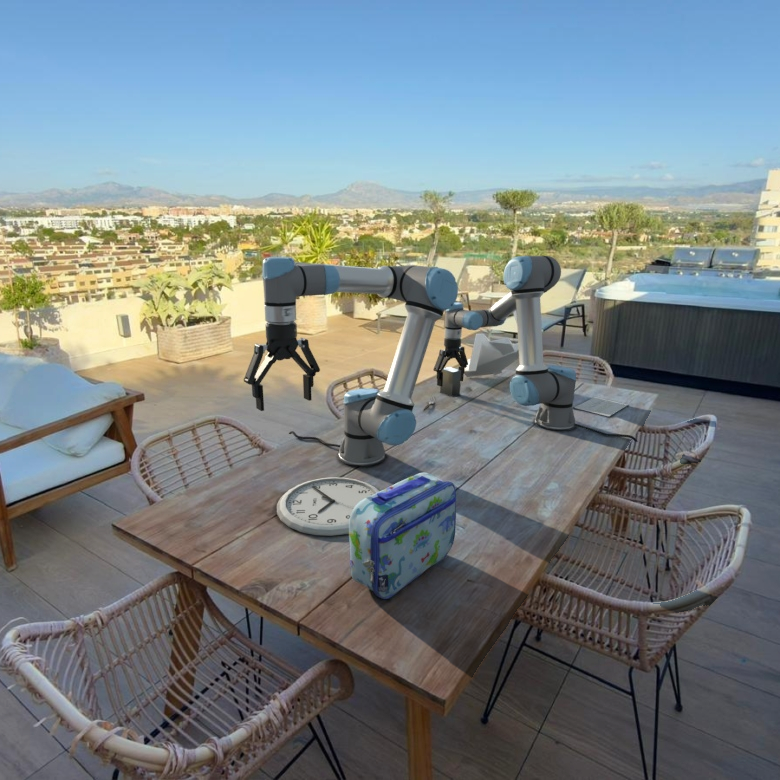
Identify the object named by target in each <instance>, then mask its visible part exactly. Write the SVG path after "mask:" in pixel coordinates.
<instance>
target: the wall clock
mask: <svg viewBox="0 0 780 780" xmlns="http://www.w3.org/2000/svg"><path fill="white" fill-rule="evenodd" d="M380 491H381V490H380V489H379V488H377V487H376V486H374V485H372V484H371V483H369V482H365V481H362V480H359V479H355V478H349V477H338V476H337V477H335V476H333V477H332V476H331V477H322V478H317V479H312V480H307V481H305V482H302V483H299V484H297V485H295V486H293V487H292V488H290V489H288V490H287V491H286V492H285V493H284V494H283V495H281V496H280V498H279V499H278V502H277V503H276V515H277V517H278V518H279V520H280V521H281V522H282V523H283V524H285V525H286V526H287V527H288V528H290V529H293V530H295V531H297V532H299V533H303V534H308V535H312V536H327V537H328V536H329V537H331V536H332V537H333V536H342V535H349V520H350V515H351V513H352V511H353V509H354V507H355V506H356V505H357V504H358V503H359V502H360V501H362V500H363V499H365V498H367V497H370V496H372V495H374V494H376V493H378V492H380Z"/></svg>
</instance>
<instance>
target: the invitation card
mask: <svg viewBox="0 0 780 780" xmlns="http://www.w3.org/2000/svg"><path fill="white" fill-rule="evenodd" d="M628 406H629V404H627V403H623V402H618V401H614V400H609V399H605V398H601V397H596V396H593V397H592V398H590V399H588V400H586V401H584V402H582V403H580V404H578V405H575V406H574V407H573V409H575V410H581V411H584V412H587V413H593V414H596V415H600V416H604V417H608V418H609V417H611V416H613V415H614V414H616V413H617V412H619V411H621V410H623V409H624V408H626V407H628Z"/></svg>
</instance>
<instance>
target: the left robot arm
mask: <svg viewBox="0 0 780 780" xmlns="http://www.w3.org/2000/svg"><path fill="white" fill-rule="evenodd" d="M261 278H262V286H263V298H264V302H263V303H264V320H265V322H266V323H265V339H266V343H265V344H260V343H255V344H254V346H253V355H252V356H251V360H250V362H249V365H248V367H247V370H246V373H245V375H244V377H243V383H245V384H247V385H251V396H252V398H254V399H255V408H256V409H257V410H258V411H260V412H264V411H265V403H264V401H265V400H264V385H263V384H261V383H262V382H263V380H264V378H265V377H266V375H267V374H268V372H269V371H270V369H271V368H272V366H274V365H273V364H275V363H276V362H277V361H284V360H290V359H292V360H293V361H294V362H295V364H297V366H299V367H300V368H301V370H302V371H303V372H304V374H302V384H303V386H302V387H303V388H302V389H303V399H304V400H307V401H313V400H312V388H314V386H315V385H314V384H315V383H314V377H315V376H316V375H317V373H320V372H321V368H320V366H319V364H318V362H317V360H316V358H315V356H314V355H313V352H312V350H311V348H310V344H309V339H307V338H305V337H300V338H298V339H297V337H298V324H297V323H296V321H297V297H307V296H309V297H310V296H311V297H312V296H327V295H333V294H336V293H345V294H347V293H348V294H367V295H370V294H371V295H377V296H378V297H379V298H384V299H391V300H396V301H399V302H404V303H405V305H404V308H405V310H406V312H407V315H406V318H405V320H404V324H403V328H402V331H401V333H400V337H399V340H398V343H397V346H396V349H395V353H394V356H393V359H392V363H391V366H390V369H389V372H388V375H387V379H386V382H385V384H384V387H383V389H382V390H381V391H380V389H377V388H371V387H370V388H368V387H367V388H356V389H351V390H349V391H347V392H346V393H345V394H344V395H343V403H342V405H343V437H342V440H341V444H336V443H330V442H326V441H324V440H323V439H321V438H319V437H316V436H302V435H301V436H300V435H298V434H296V432H295V431H294V430H291V431H289V432H288V435H291V434H292V435H293V436H294V437H295V438H296V439H301V440H315V441H319V442H320V443H321V444H322V445H325V446H329V447H337V448H339V450H338V460H339V461H340V462H342V463H343V464H345V465H348V466H350V467H361V468H362V467H371V466H372V467H373V466H375V465H379V464H380V463H382V462H383V461H384V460H385V459H386V451H385V446H384V444H387V445H389V446H400V445H402V444H404V443H405V442H407V441H408V440H409V439H410V438H411V437H412V436H413V434H414V432H415V430H416V426H417V419H416V415H415V414H414V412H413V410H414V407H415V404H414V403H415V402H414V401H413V399H412V396H413V393H414V390H415V387H416V384H417V382H418V378H419V374H420V371H421V368H422V365H423V362H424V358H425V355H426V352H427V349H428V346H429V342H430V339H431V336H432V333H433V330H434V327H435V324H436V322H438V321H439V320H441V319H442V318H443V315H444V313H445V311H446V310H447V309H449V308H451V306H453V305H454V303H456V302H457V299H458V294H459V287H458V282H457V280H456V277H455V275H454V274H453V273H452V271H450V270H449V269H447V268H443V267H438V266H424V265H415V264H406V265H381V266H379V267H378V268H375V267H363V266H362V267H361V266H349V265H340V264H339V265H337V264H326V263H312V262H301V261H295V259H294V258H293V257H289V256H269V257H265V258H264V259H263V260H262V276H261ZM298 347H299V348H300V350H301V352H302V354H303V356H304V358H305V359H306V361H305V360H304V359H303V358H302V357H301V355H300V354H299V353H298V352H297V349H298ZM266 351H267V353H266ZM265 353H266V355H265V357H264V354H265ZM263 357H264V359H263ZM262 359H263V361H262Z"/></svg>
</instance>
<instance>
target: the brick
mask: <svg viewBox="0 0 780 780" xmlns="http://www.w3.org/2000/svg"><path fill="white" fill-rule="evenodd" d="M458 369H459V368H454V367H451V366H447V367H444V369H443V371H442V372H443V384H442V387H441V386H439V387H440V389H439V390H440V391H439V392H440V394H444V395H446V396H449V397H455V396H459V395H460V394H461V381H460V379H461V370H458Z"/></svg>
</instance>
